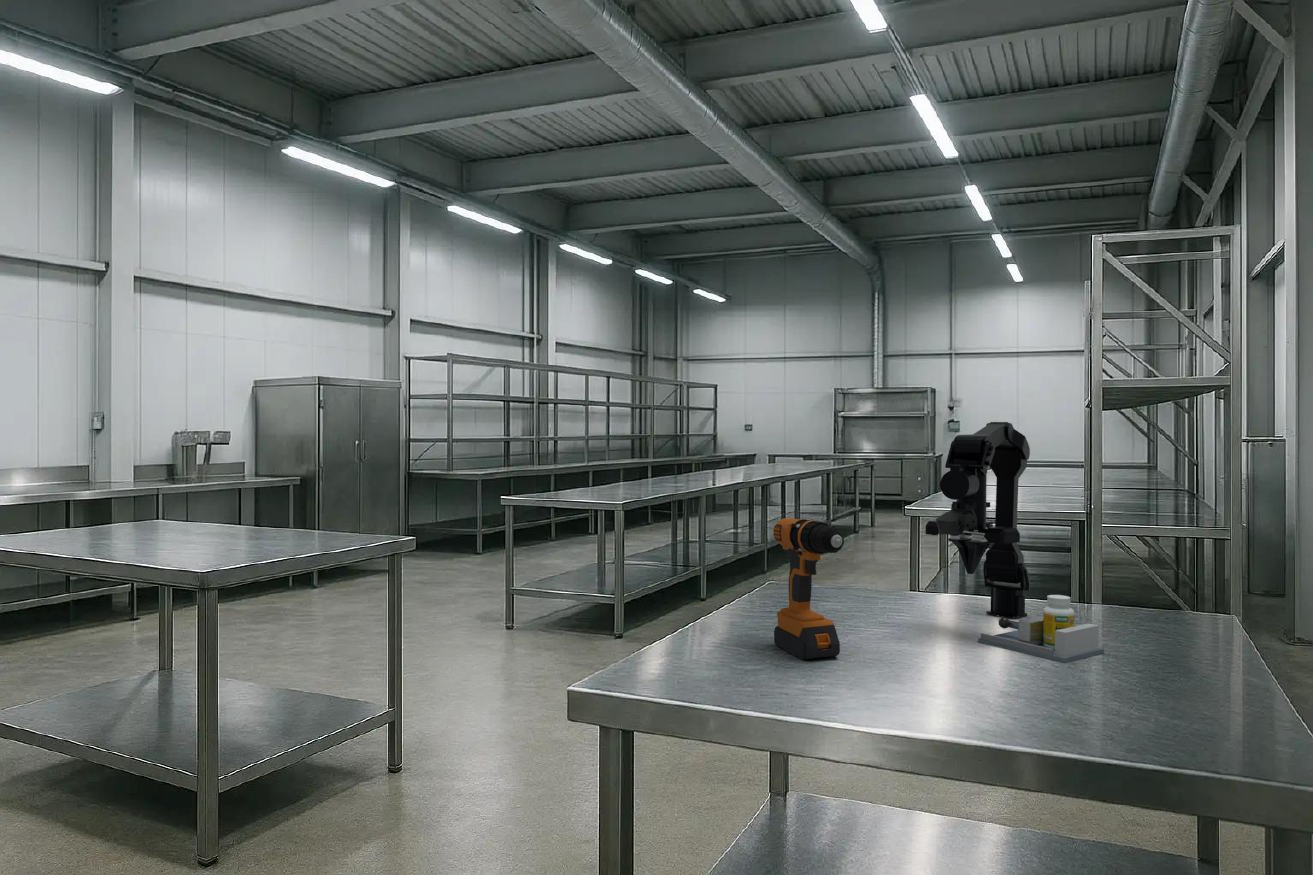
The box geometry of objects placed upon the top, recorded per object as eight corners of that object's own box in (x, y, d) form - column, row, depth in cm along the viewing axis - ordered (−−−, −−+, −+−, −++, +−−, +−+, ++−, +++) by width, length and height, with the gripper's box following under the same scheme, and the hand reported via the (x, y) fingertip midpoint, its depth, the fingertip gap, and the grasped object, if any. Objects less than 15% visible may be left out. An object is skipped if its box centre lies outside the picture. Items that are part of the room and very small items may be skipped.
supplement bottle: (1063, 643, 169) (1064, 593, 169) (1080, 650, 164) (1081, 599, 164) (1037, 644, 169) (1037, 594, 168) (1053, 651, 163) (1054, 599, 163)
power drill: (860, 668, 154) (862, 525, 153) (823, 671, 151) (824, 526, 151) (802, 639, 174) (803, 513, 174) (768, 642, 172) (769, 514, 171)
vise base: (978, 642, 173) (978, 615, 173) (1017, 633, 180) (1018, 608, 180) (1064, 662, 158) (1064, 633, 158) (1104, 652, 166) (1104, 625, 166)
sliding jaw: (983, 635, 174) (984, 613, 174) (1014, 629, 179) (1014, 608, 179) (1029, 646, 166) (1030, 623, 166) (1060, 639, 171) (1060, 617, 171)
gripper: (908, 495, 182) (907, 570, 182) (986, 501, 166) (985, 584, 167) (943, 493, 188) (942, 566, 188) (1022, 499, 173) (1021, 579, 173)
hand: (970, 573), depth 179 cm, fingers closed
